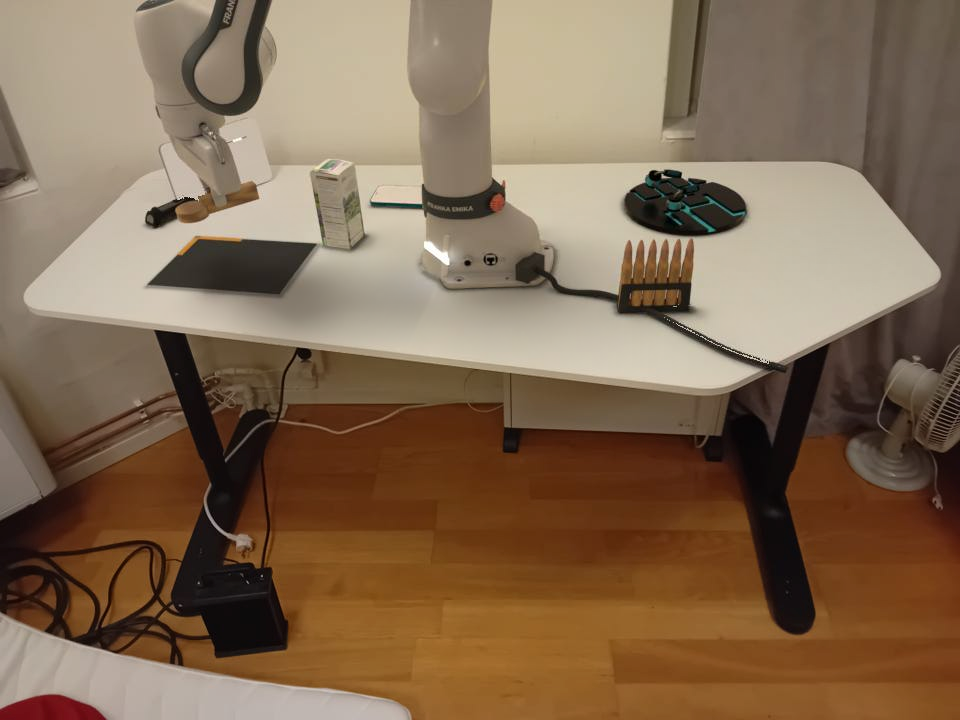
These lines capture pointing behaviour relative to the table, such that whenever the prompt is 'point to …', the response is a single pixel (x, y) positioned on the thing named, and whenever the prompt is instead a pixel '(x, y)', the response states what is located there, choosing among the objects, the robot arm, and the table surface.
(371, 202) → the smartphone
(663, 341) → the table surface
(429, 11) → the robot arm
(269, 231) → the table surface
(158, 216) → the electric trimmer
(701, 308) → the table surface
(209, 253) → the mat
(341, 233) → the syrup box
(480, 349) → the table surface
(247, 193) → the orange wooden ladle
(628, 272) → the ammunition clip
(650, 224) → the platform
